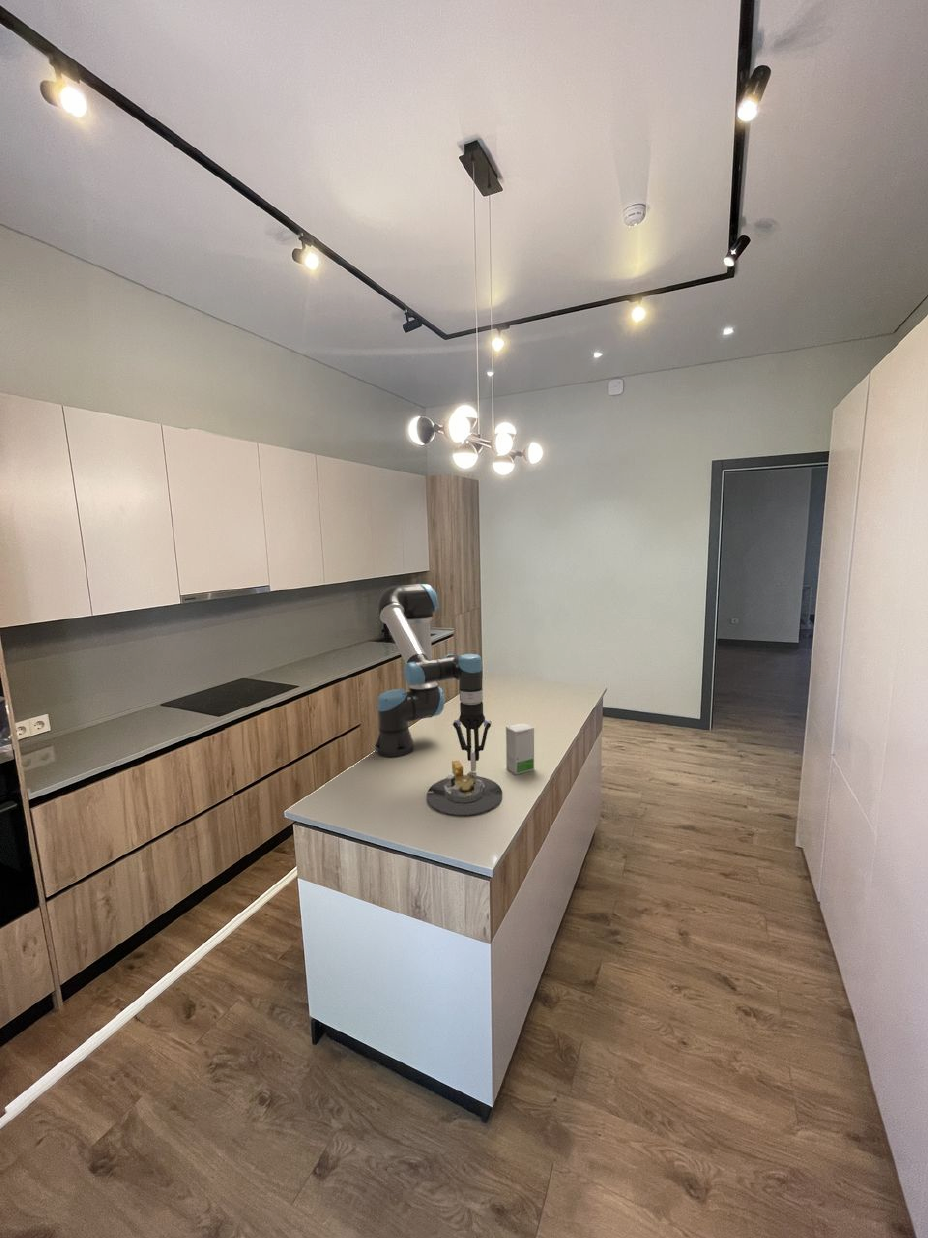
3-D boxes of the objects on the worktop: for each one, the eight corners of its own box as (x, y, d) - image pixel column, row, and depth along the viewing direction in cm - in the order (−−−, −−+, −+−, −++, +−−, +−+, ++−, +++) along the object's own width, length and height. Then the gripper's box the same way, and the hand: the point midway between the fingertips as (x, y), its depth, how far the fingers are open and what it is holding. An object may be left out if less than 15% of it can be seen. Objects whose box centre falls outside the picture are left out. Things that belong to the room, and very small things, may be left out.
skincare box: (515, 775, 166) (514, 732, 164) (505, 768, 172) (504, 726, 169) (535, 769, 170) (534, 727, 167) (524, 762, 176) (524, 721, 173)
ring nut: (489, 798, 149) (489, 780, 148) (450, 805, 145) (449, 786, 144) (473, 774, 165) (473, 758, 164) (437, 780, 161) (437, 763, 160)
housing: (416, 812, 145) (415, 795, 144) (439, 775, 168) (438, 760, 167) (494, 820, 139) (494, 802, 138) (507, 781, 162) (507, 765, 161)
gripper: (450, 705, 155) (452, 774, 158) (490, 705, 153) (492, 775, 156) (453, 697, 162) (456, 764, 165) (492, 698, 160) (493, 765, 164)
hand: (473, 769), depth 161 cm, fingers closed
